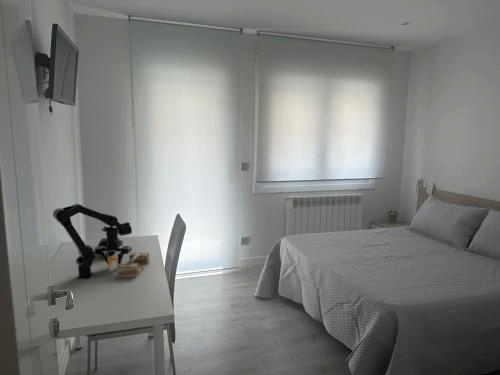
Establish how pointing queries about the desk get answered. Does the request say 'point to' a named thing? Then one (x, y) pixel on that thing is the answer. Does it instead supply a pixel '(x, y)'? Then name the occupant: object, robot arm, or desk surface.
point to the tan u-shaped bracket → (112, 258)
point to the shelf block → (133, 265)
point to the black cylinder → (105, 244)
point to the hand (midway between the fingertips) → (114, 264)
